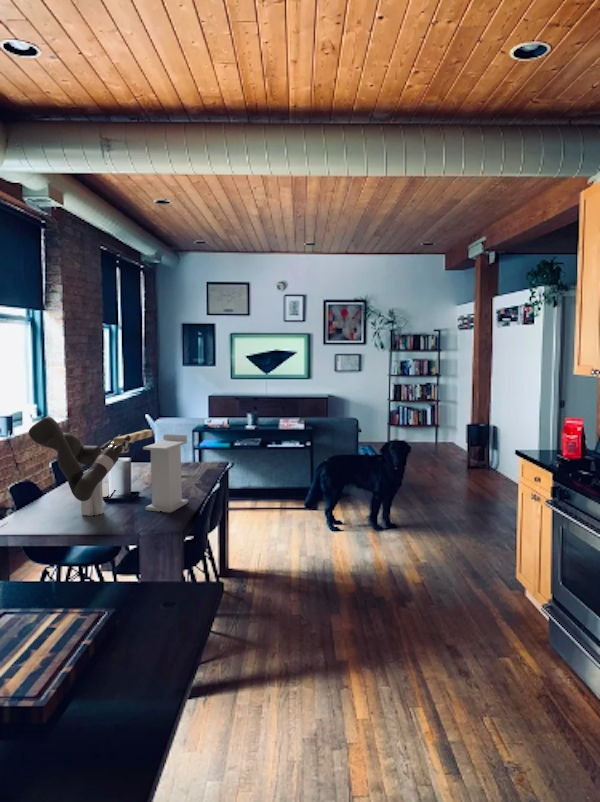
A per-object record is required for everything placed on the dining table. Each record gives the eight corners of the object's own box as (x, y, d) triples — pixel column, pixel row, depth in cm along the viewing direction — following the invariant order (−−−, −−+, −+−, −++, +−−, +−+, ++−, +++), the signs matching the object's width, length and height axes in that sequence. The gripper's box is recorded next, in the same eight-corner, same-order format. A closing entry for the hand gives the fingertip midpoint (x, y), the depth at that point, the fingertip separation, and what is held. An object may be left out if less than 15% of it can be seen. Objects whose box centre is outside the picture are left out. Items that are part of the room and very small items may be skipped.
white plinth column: (168, 513, 294) (166, 442, 290) (143, 511, 298) (141, 440, 294) (190, 501, 315) (188, 435, 311) (166, 499, 319) (164, 433, 315)
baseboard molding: (87, 499, 322) (110, 499, 323) (87, 494, 321) (110, 493, 323) (98, 485, 352) (120, 485, 354) (98, 480, 352) (120, 480, 353)
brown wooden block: (120, 445, 263) (120, 438, 263) (113, 444, 264) (113, 438, 264) (152, 436, 288) (152, 429, 287) (146, 435, 289) (145, 429, 288)
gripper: (116, 456, 251) (136, 430, 265) (87, 454, 256) (108, 428, 269) (122, 469, 256) (141, 443, 269) (94, 467, 260) (113, 442, 273)
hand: (124, 436), depth 269 cm, fingers closed on brown wooden block, 3 cm apart
